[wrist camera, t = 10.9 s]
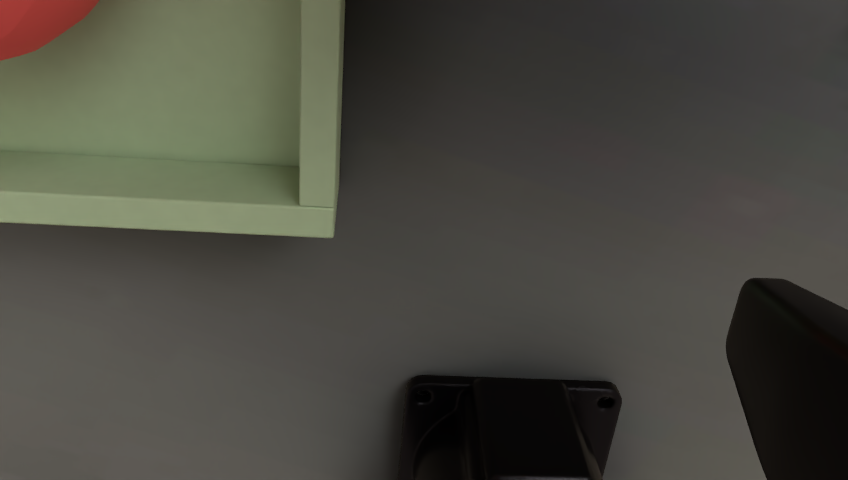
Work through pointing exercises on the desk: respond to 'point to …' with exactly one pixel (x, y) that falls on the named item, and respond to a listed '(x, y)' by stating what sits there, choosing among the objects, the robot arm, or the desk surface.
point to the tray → (179, 119)
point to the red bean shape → (37, 23)
